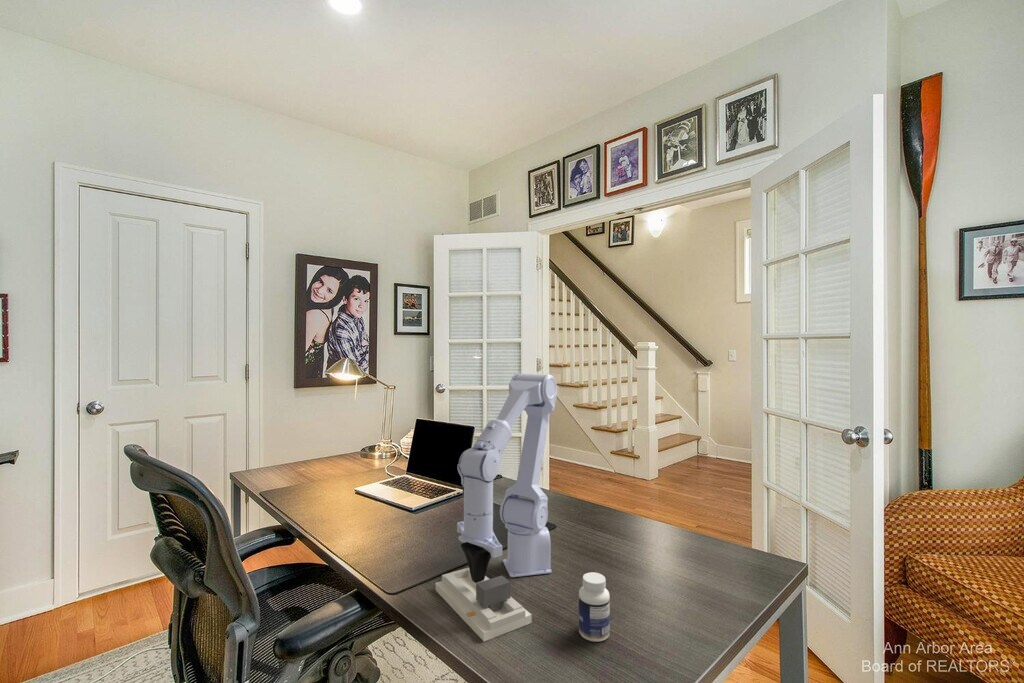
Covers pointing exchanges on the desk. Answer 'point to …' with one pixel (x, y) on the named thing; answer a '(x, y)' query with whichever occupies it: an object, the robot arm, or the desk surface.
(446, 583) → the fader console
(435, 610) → the desk surface
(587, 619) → the pill bottle
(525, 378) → the robot arm
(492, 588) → the fader tab
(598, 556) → the desk surface
